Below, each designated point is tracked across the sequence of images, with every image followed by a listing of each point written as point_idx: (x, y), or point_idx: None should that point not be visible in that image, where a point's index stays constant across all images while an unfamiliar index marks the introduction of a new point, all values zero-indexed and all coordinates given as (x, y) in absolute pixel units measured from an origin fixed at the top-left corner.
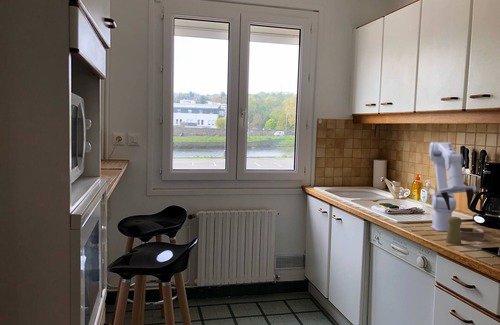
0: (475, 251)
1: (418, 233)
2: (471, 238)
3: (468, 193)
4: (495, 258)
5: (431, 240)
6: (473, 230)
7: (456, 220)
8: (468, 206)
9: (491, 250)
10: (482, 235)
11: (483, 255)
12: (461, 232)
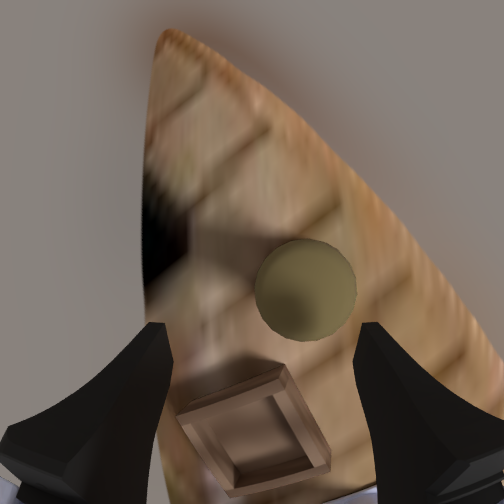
0: (208, 169)
1: (478, 379)
2: (236, 386)
3: (67, 424)
4: (146, 117)
5: (416, 264)
6: (231, 476)
7: (287, 244)
8: (154, 324)
9: (153, 233)
10: (186, 408)
11: (180, 127)
12: (277, 378)
